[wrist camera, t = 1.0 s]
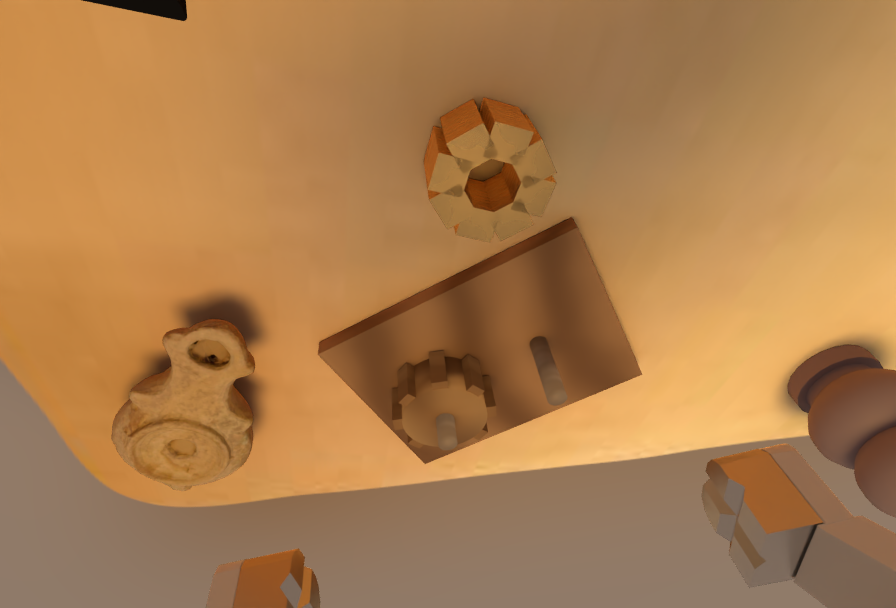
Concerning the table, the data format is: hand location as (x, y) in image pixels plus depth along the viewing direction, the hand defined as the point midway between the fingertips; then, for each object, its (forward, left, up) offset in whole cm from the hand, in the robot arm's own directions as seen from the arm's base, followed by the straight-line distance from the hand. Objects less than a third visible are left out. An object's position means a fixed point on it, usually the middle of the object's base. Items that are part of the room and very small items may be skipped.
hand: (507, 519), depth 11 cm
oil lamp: (+22, +7, -22) cm, 32 cm away
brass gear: (-2, +2, -22) cm, 22 cm away
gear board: (+4, +15, -22) cm, 27 cm away
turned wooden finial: (-18, +32, -22) cm, 43 cm away
